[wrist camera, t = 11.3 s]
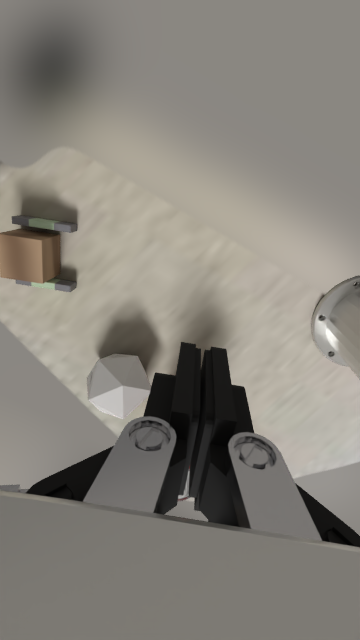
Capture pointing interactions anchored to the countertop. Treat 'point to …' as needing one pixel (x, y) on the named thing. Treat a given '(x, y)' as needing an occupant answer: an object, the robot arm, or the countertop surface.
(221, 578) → the robot arm
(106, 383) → the die
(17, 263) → the walnut block
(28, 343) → the countertop surface
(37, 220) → the grey blocks
